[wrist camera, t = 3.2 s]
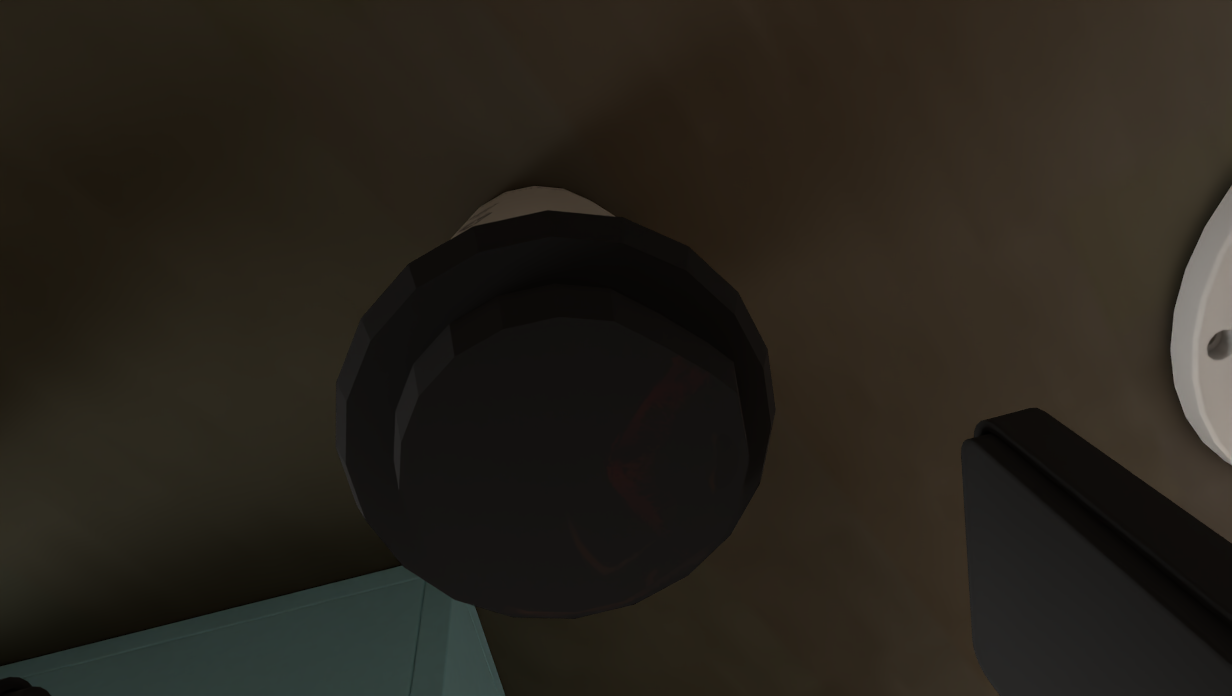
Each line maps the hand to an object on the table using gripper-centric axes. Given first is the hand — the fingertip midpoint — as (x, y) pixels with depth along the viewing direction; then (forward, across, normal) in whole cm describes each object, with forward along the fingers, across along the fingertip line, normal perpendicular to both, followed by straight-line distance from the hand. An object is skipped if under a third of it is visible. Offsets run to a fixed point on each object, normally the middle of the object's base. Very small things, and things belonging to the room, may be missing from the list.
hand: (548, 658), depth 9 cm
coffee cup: (+14, -1, 0) cm, 14 cm away
